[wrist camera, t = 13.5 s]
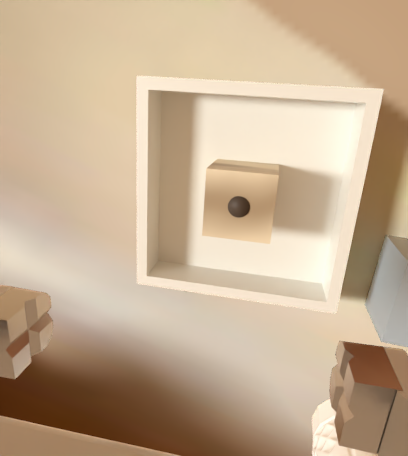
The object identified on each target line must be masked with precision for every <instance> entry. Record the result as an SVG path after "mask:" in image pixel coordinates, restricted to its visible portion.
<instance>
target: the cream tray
mask: <svg viewBox="0 0 408 456" xmlns="http://www.w3.org/2000/svg"><path fill="white" fill-rule="evenodd" d="M383 91H384V89H375V88H356V87H338V86H319V85H301V84H282V83H264V82H245V81H227V80H208V79H190V78H171V77H153V76H137V284H143V285H149V286H156V287H163V288H169V289H176V290H182V291H189V292H196V293H202V294H209V295H215V296H222V297H229V298H235V299H242V300H249V301H255V302H262V303H268V304H275V305H282V306H288V307H295V308H301V309H308V310H315V311H321V312H328V313H335V314H336V313H337V309H338V304H339V299H340V295H341V290H342V285H343V280H344V276H345V271H346V266H347V261H348V257H349V252H350V247H351V243H352V238H353V233H354V228H355V224H356V219H357V214H358V209H359V205H360V200H361V195H362V191H363V186H364V181H365V176H366V172H367V167H368V162H369V157H370V153H371V148H372V143H373V139H374V134H375V129H376V124H377V120H378V115H379V110H380V106H381V101H382V96H383ZM217 159H226V160H237V161H248V162H259V163H271V164H279V180H278V188H277V195H276V203H275V211H274V218H273V226H272V233H271V241H270V244H265V243H257V242H249V241H241V240H233V239H225V238H217V237H209V236H202V229H203V213H204V197H205V181H206V168H207V167H208V166H210V165H211V164H212V163H213V162H214V161H215V160H217Z"/></svg>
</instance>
